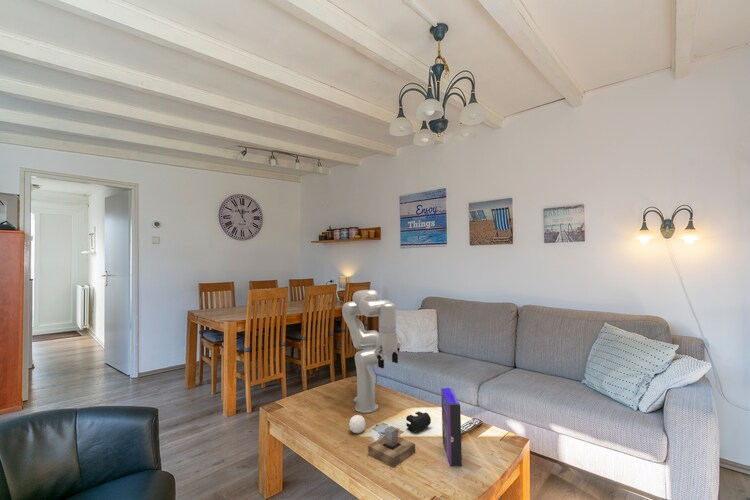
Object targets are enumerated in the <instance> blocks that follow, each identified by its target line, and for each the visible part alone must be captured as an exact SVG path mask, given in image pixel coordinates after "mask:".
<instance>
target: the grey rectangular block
mask: <svg viewBox="0 0 750 500" xmlns="http://www.w3.org/2000/svg"><path fill="white" fill-rule="evenodd" d="M384 436H385V447H387V448H389V449H391V450H394V449H395V448H397V447H398V437H399V428H397V427H394V426H392V425H390V426H388V427H386V428H384Z"/></svg>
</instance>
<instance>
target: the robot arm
mask: <svg viewBox="0 0 750 500" xmlns="http://www.w3.org/2000/svg"><path fill="white" fill-rule="evenodd" d="M379 298H380V297H379V293H378V292H377V290H375V289H364V290H363V289H362V290H361V289H360V290H357V291H355V292H354V293H353V295H352V298H351V299H352V301H348V302H345V303H344V304H343V305H342V307H341V312H342V313H341V314H342V317H343V320H344V322H345V323H346V325H347V327H348V330H349V334H350V338H351V341H352V344H353V347H354V348H355V349H356V350H358V351H357V352H356V353H355V355H354V363H355V367H356V368H355V369H356V386H357V388H356V391H357V395H356V396H355V397H354V398H353V401H354V402H355V403H356V404H355V405H354V411H356V412H358V413H362V414H371V413H374V412H376V411H377V410H378V409H379V405H378V404H377V403H376V388H375V383H376V381H375V373H374V372H373V370H371V368H374V367H377V368H381V369H384V368H385V364H386V363H387V355H389V354H391V361H392V363H395V364H398V363H399V357H398V356H399V352H400V350H401V345H402V344H401V343H399V342H398V334H397V324H396V323H397V314H396V313H397V312H396V311H397V307H396V306H397V305H396V304H395V303H393V302H391V301H390V300H388V299H380V300H379ZM358 316H365V317H367V318H372V317H379V332H378V331H377V330H375V329H374V330H373V329H372V330H366V329H365V326H364V323H363V322H362V321H361V320H360V319H359V318H358Z"/></svg>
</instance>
